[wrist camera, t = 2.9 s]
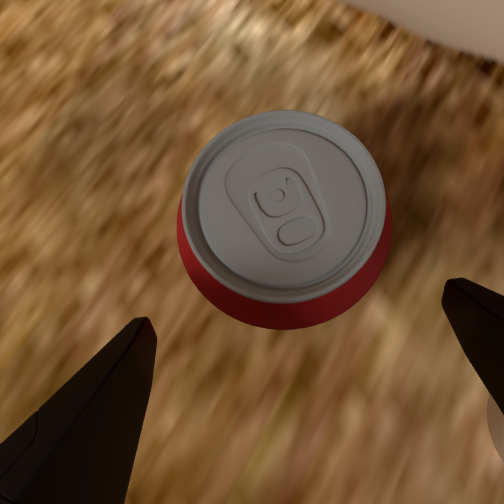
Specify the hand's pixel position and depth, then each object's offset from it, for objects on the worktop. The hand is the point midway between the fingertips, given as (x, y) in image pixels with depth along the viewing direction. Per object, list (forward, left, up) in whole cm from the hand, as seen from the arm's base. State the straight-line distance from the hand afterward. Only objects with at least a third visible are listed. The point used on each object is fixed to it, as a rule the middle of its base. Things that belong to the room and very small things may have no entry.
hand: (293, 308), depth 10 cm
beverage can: (+2, -2, -10) cm, 11 cm away
